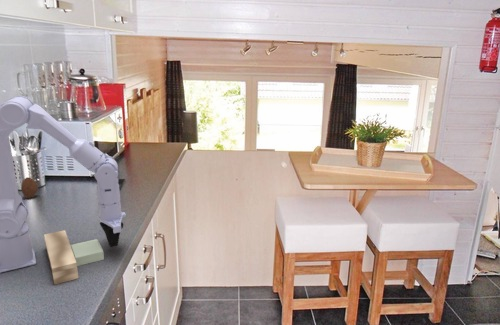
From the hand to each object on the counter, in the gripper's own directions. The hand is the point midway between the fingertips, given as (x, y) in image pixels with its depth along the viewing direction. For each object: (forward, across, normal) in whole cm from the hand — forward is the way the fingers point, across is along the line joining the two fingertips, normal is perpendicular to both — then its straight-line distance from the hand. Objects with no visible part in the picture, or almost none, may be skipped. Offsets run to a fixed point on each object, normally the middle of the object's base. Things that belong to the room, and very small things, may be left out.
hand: (113, 245), depth 113 cm
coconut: (+2, +54, +18) cm, 57 cm away
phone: (+2, +51, -12) cm, 52 cm away
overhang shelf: (+1, 0, +14) cm, 14 cm away
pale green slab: (+1, 0, +7) cm, 7 cm away
